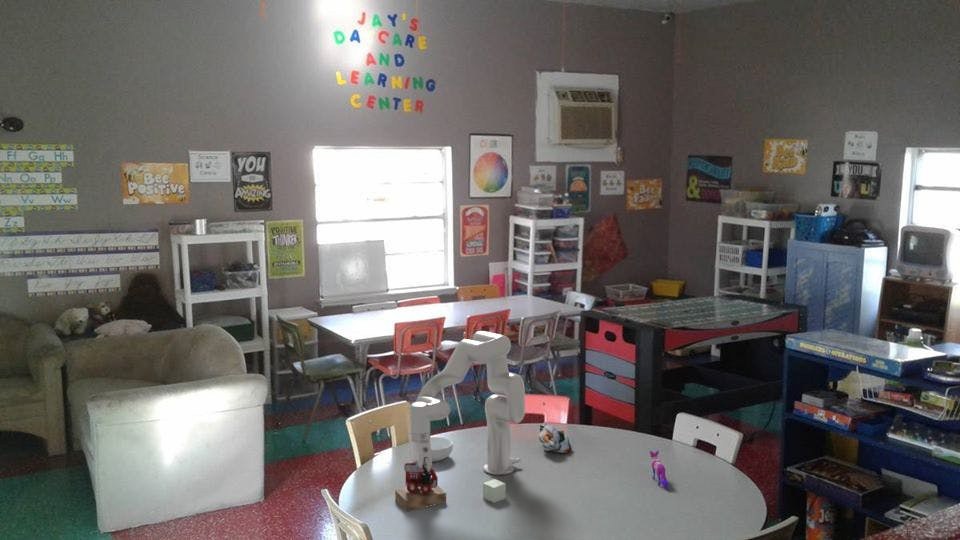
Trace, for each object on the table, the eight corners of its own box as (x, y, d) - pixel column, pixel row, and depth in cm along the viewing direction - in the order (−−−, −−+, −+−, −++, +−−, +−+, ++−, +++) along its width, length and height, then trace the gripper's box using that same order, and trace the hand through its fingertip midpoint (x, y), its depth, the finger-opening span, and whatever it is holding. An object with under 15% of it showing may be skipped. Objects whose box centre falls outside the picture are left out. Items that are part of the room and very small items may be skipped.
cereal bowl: (460, 456, 344) (460, 440, 343) (438, 468, 330) (438, 452, 329) (428, 449, 353) (428, 433, 352) (405, 460, 339) (405, 444, 338)
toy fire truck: (435, 494, 294) (435, 467, 292) (402, 493, 295) (402, 466, 294) (438, 487, 300) (438, 460, 299) (406, 485, 302) (406, 459, 300)
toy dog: (656, 472, 326) (656, 448, 325) (671, 490, 308) (672, 464, 307) (647, 472, 326) (647, 448, 324) (661, 490, 308) (662, 465, 306)
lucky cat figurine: (575, 453, 347) (566, 430, 340) (550, 464, 347) (540, 442, 340) (565, 433, 360) (556, 410, 354) (541, 444, 360) (531, 421, 354)
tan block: (434, 492, 307) (434, 482, 306) (446, 502, 297) (446, 492, 296) (395, 500, 299) (395, 490, 299) (406, 511, 290) (406, 501, 289)
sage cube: (494, 493, 305) (494, 478, 304) (505, 498, 301) (505, 483, 300) (483, 498, 301) (483, 483, 300) (493, 503, 297) (493, 487, 296)
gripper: (439, 441, 289) (439, 486, 291) (420, 427, 304) (421, 470, 306) (419, 444, 285) (420, 490, 288) (402, 430, 301) (402, 473, 303)
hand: (420, 479), depth 297 cm, fingers closed on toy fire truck, 8 cm apart
